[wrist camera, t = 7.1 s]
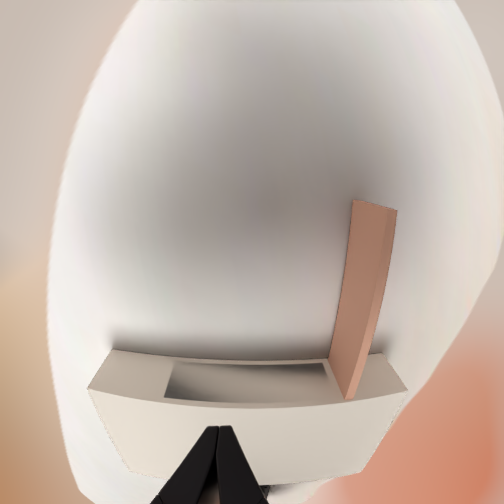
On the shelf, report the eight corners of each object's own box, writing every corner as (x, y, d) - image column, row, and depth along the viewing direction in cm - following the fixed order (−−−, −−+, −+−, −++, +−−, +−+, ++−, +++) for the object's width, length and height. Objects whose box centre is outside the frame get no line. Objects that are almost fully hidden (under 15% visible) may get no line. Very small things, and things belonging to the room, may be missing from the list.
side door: (327, 360, 20) (344, 400, 15) (352, 199, 16) (387, 209, 12) (338, 359, 20) (357, 398, 15) (365, 201, 16) (402, 210, 12)
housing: (348, 437, 23) (360, 472, 18) (140, 436, 22) (129, 471, 18) (382, 352, 20) (408, 390, 15) (112, 349, 19) (86, 388, 14)
